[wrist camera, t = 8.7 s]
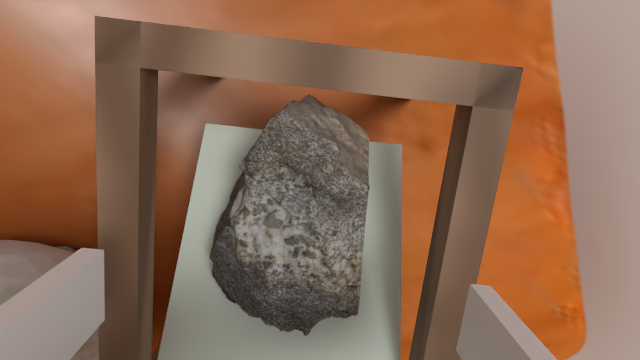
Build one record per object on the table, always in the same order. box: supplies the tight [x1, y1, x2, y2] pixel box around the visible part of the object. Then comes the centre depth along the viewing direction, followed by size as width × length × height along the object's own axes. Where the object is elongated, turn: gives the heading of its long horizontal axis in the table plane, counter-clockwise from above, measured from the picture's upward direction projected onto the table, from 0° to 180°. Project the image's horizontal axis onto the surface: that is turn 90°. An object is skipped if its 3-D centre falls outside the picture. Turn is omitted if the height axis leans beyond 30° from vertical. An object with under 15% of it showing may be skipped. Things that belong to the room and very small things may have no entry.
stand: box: [95, 16, 523, 360], centre depth 28 cm, size 18×23×18 cm
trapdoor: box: [157, 123, 402, 360], centre depth 24 cm, size 13×23×3 cm
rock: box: [209, 95, 370, 336], centre depth 22 cm, size 13×9×6 cm
